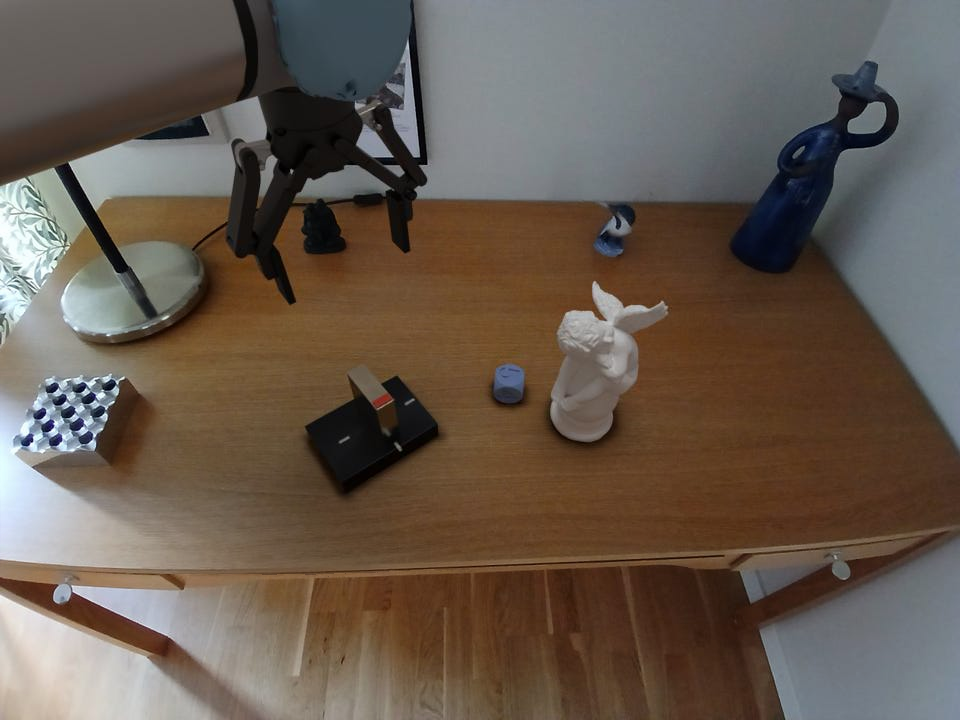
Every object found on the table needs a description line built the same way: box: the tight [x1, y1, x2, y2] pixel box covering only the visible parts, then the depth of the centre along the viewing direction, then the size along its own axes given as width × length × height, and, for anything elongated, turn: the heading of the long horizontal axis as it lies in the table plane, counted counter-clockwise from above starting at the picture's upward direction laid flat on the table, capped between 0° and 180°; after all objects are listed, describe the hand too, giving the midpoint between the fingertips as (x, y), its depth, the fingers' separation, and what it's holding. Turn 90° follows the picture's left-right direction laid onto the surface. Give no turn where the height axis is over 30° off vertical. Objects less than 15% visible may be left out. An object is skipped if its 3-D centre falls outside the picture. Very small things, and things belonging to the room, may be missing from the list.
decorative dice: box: [493, 363, 526, 404], centre depth 78 cm, size 4×4×4 cm
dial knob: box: [346, 363, 400, 444], centre depth 69 cm, size 7×2×8 cm, turn 38°
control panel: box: [304, 374, 439, 494], centre depth 73 cm, size 14×11×3 cm
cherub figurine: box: [549, 280, 669, 443], centre depth 69 cm, size 12×12×22 cm
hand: (346, 270), depth 60 cm, fingers open, 13 cm apart
